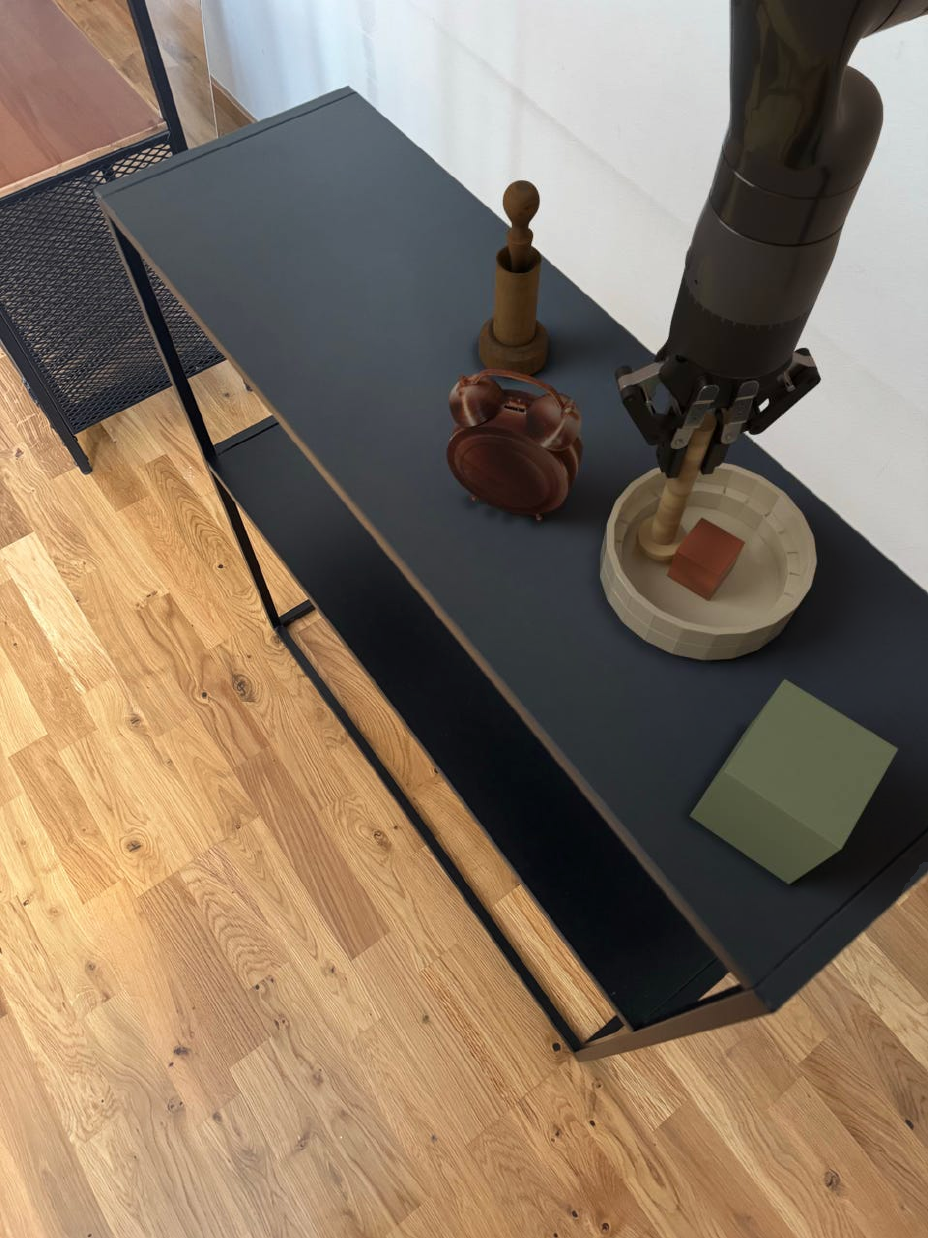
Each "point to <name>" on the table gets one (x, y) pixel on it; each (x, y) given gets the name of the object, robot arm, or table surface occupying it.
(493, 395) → the alarm clock
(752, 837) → the stand
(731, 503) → the bowl
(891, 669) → the table surface
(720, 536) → the block
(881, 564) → the table surface
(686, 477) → the stick
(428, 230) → the table surface
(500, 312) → the mortar and pestle
